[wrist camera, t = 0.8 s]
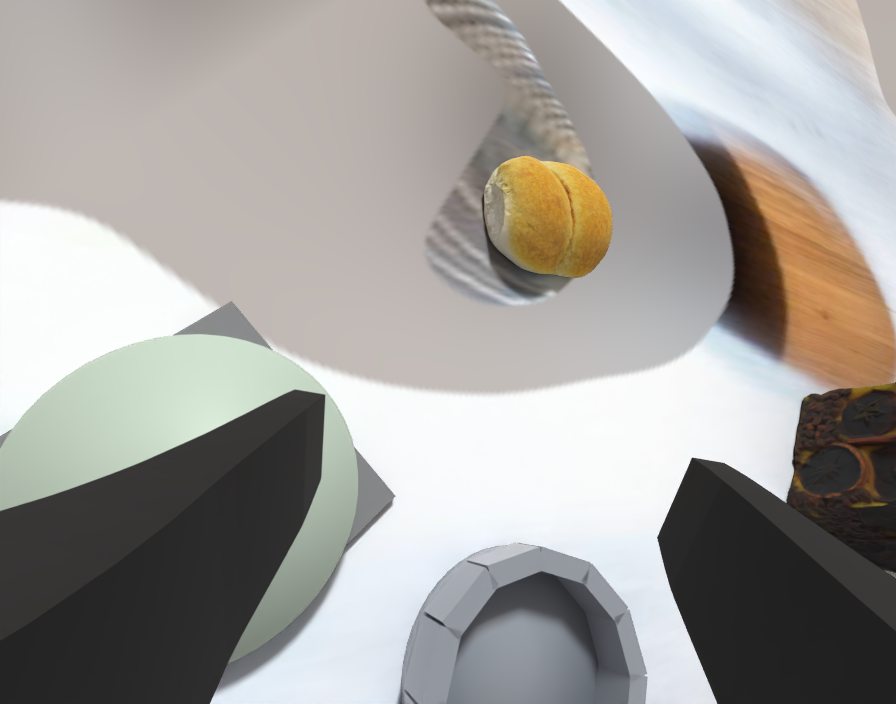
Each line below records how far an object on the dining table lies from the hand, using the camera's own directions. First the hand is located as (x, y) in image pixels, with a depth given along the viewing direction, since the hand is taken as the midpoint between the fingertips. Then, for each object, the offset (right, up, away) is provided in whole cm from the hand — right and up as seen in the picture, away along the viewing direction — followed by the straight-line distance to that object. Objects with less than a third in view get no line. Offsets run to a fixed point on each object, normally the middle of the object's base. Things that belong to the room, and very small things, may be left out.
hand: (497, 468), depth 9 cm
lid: (-11, -3, +10) cm, 15 cm away
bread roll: (+5, +11, +23) cm, 25 cm away
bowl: (+2, -13, +13) cm, 19 cm away
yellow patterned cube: (+29, -8, +28) cm, 41 cm away
